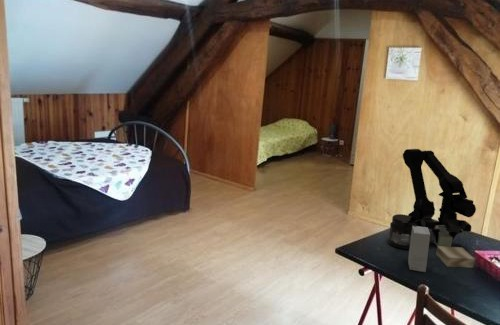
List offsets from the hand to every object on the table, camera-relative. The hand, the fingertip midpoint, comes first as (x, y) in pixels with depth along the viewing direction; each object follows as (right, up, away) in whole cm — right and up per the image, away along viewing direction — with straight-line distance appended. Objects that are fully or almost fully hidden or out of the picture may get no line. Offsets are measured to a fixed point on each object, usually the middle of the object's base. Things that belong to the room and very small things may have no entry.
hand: (442, 243), depth 170 cm
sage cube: (0, -1, 0) cm, 1 cm away
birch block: (-2, -5, -13) cm, 14 cm away
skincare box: (-19, -5, -19) cm, 28 cm away
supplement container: (-18, -1, -1) cm, 18 cm away
